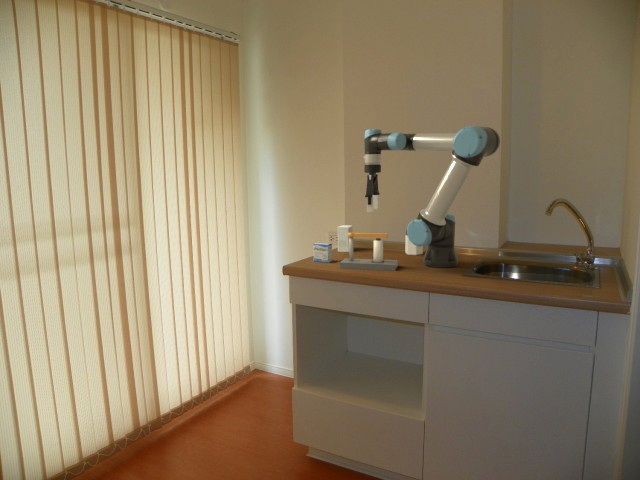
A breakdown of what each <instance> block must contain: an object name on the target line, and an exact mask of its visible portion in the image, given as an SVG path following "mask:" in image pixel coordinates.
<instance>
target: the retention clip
mask: <svg viewBox="0 0 640 480" xmlns="http://www.w3.org/2000/svg"><path fill="white" fill-rule="evenodd" d="M388 236H389V234H388V233H377V232H376V233H374V232H373V233H372V232H353V233H348V237H353V238H373V239H376V238H381V239H388V238H389V237H388Z"/></svg>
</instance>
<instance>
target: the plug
mask: <svg viewBox="0 0 640 480" xmlns="http://www.w3.org/2000/svg"><path fill="white" fill-rule="evenodd" d="M372 243H373V248H372V249H373V252H372V253H373V258H372V259H373V263H383V260H384V239H382V238H375V239H373V241H372Z"/></svg>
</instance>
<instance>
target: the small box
mask: <svg viewBox="0 0 640 480" xmlns="http://www.w3.org/2000/svg"><path fill="white" fill-rule="evenodd" d="M353 226H354V225H350V224H345V225H344V224H342V225H339V226H337V228H336V229H337V230H336V231H337V236H336V237H337V252H338V253H339V252H340V253H341V252H342V253H349V237H348V233H354V229H353V228H354V227H353Z"/></svg>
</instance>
